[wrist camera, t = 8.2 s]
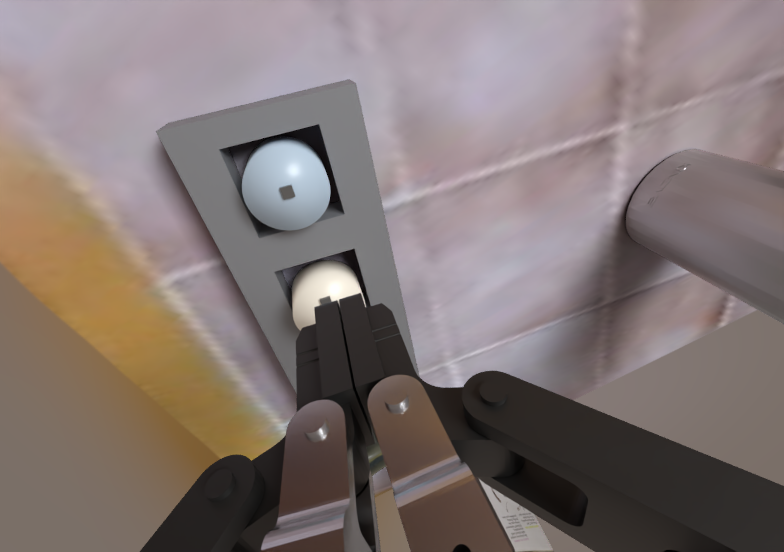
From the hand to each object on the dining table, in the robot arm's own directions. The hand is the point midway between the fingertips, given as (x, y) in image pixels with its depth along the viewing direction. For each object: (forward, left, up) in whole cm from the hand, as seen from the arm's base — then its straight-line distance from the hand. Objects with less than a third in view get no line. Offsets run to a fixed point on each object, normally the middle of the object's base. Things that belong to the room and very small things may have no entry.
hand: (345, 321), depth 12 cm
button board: (-5, +7, -16) cm, 18 cm away
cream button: (-5, +7, -14) cm, 16 cm away
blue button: (+1, +1, -16) cm, 16 cm away
